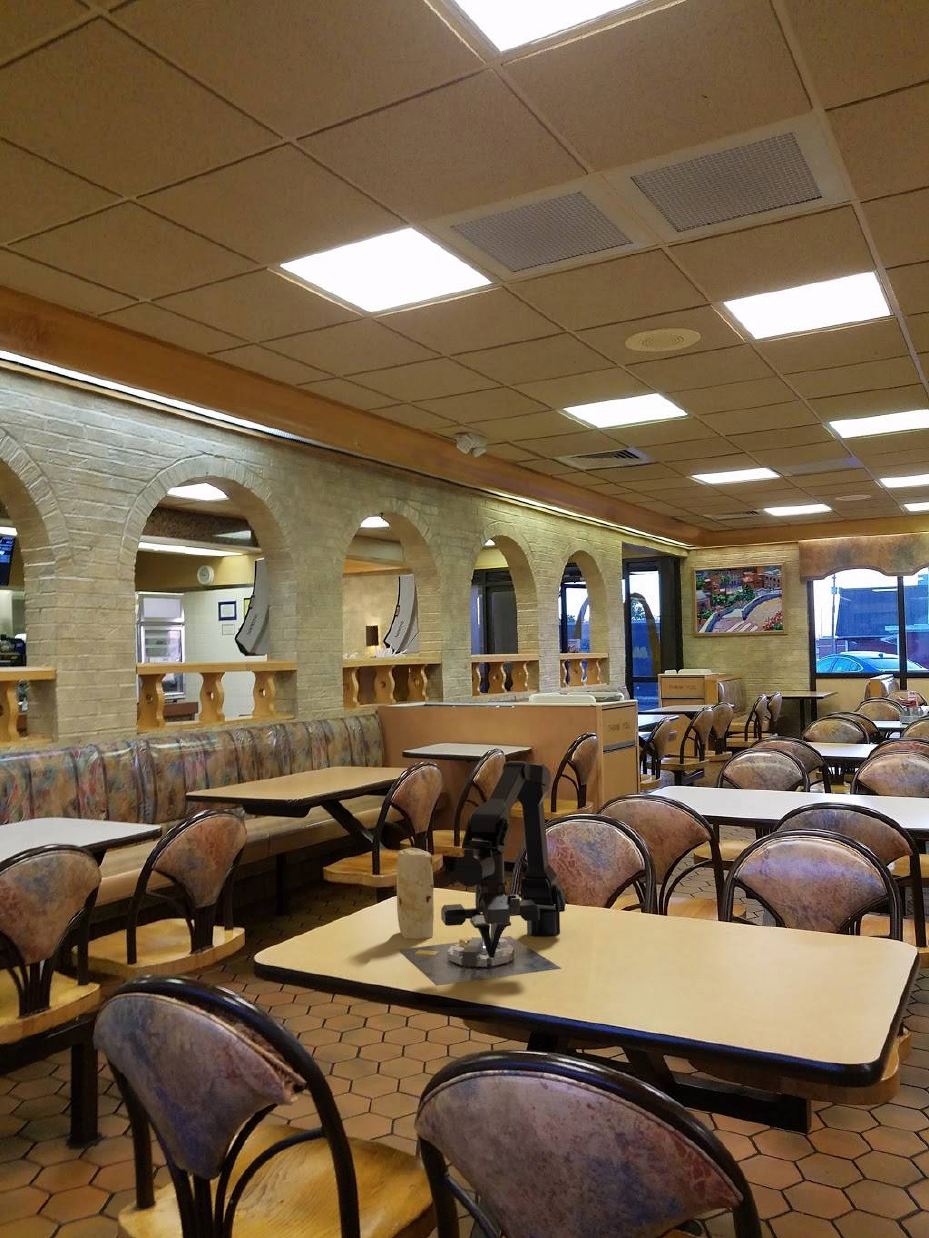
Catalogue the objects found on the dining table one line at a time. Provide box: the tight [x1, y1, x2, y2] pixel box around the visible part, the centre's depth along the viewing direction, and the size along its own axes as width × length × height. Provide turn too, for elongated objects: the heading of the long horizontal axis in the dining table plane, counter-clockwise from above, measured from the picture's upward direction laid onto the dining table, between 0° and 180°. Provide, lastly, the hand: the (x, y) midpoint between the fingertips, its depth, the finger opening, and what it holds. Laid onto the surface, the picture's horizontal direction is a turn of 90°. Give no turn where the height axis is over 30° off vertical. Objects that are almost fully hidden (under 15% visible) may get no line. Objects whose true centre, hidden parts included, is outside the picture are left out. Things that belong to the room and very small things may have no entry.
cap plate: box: [397, 935, 562, 986], centre depth 200 cm, size 26×26×3 cm
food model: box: [396, 847, 435, 940], centre depth 220 cm, size 10×7×20 cm
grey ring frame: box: [447, 936, 514, 966], centre depth 196 cm, size 21×13×5 cm, turn 170°
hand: (491, 957), depth 190 cm, fingers closed
